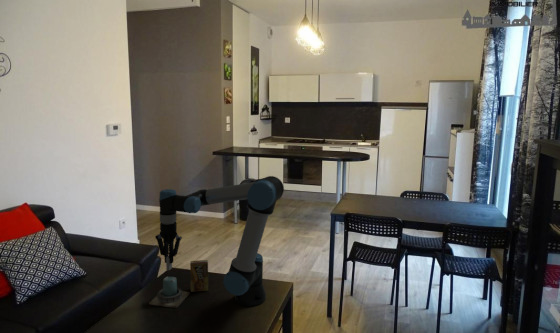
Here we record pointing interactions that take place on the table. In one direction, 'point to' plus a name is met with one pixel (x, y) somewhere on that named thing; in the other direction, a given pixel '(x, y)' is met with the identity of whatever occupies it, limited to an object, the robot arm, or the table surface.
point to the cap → (169, 286)
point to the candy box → (199, 275)
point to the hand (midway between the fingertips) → (169, 269)
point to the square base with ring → (169, 299)
